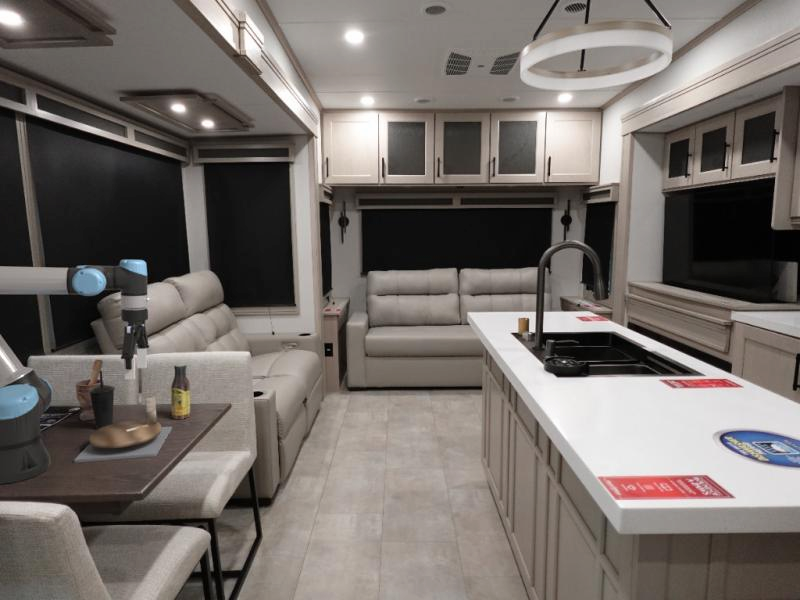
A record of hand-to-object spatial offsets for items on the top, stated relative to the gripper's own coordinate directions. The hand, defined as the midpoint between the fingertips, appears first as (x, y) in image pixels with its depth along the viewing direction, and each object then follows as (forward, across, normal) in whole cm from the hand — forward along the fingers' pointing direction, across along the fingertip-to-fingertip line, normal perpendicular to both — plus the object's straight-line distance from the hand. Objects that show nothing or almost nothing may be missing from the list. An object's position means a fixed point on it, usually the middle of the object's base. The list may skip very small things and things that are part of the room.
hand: (136, 373), depth 162 cm
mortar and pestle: (+22, +25, +22) cm, 40 cm away
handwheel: (+21, -5, +2) cm, 21 cm away
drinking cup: (+22, +12, +14) cm, 29 cm away
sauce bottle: (+22, +17, -10) cm, 29 cm away
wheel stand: (+22, -5, +2) cm, 22 cm away
